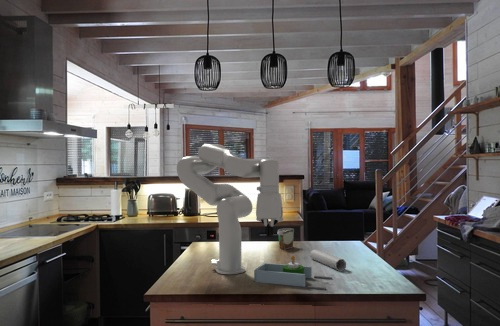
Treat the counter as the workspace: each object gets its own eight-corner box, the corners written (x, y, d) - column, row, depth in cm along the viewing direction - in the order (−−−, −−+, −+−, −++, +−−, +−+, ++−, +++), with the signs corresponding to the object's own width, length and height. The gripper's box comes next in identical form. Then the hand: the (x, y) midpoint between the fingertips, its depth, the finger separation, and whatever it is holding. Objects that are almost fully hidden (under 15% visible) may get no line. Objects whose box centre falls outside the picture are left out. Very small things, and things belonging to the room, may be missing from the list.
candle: (308, 280, 163) (308, 255, 163) (294, 285, 157) (294, 258, 157) (291, 276, 169) (291, 252, 169) (278, 280, 163) (278, 255, 163)
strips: (306, 288, 154) (306, 286, 154) (314, 277, 168) (314, 275, 168) (325, 289, 151) (325, 288, 151) (332, 278, 166) (332, 277, 166)
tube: (306, 250, 200) (334, 261, 177) (315, 246, 202) (344, 256, 179) (309, 261, 201) (337, 273, 177) (318, 256, 203) (347, 268, 179)
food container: (284, 245, 233) (284, 227, 233) (294, 246, 229) (294, 228, 229) (272, 249, 223) (272, 230, 223) (282, 250, 219) (282, 231, 219)
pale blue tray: (254, 281, 162) (254, 270, 162) (264, 273, 174) (264, 262, 174) (304, 286, 155) (304, 274, 155) (311, 277, 167) (311, 266, 167)
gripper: (248, 190, 165) (248, 236, 165) (285, 191, 160) (285, 238, 160) (254, 189, 172) (255, 233, 172) (290, 189, 167) (290, 235, 167)
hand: (269, 235), depth 166 cm, fingers closed
